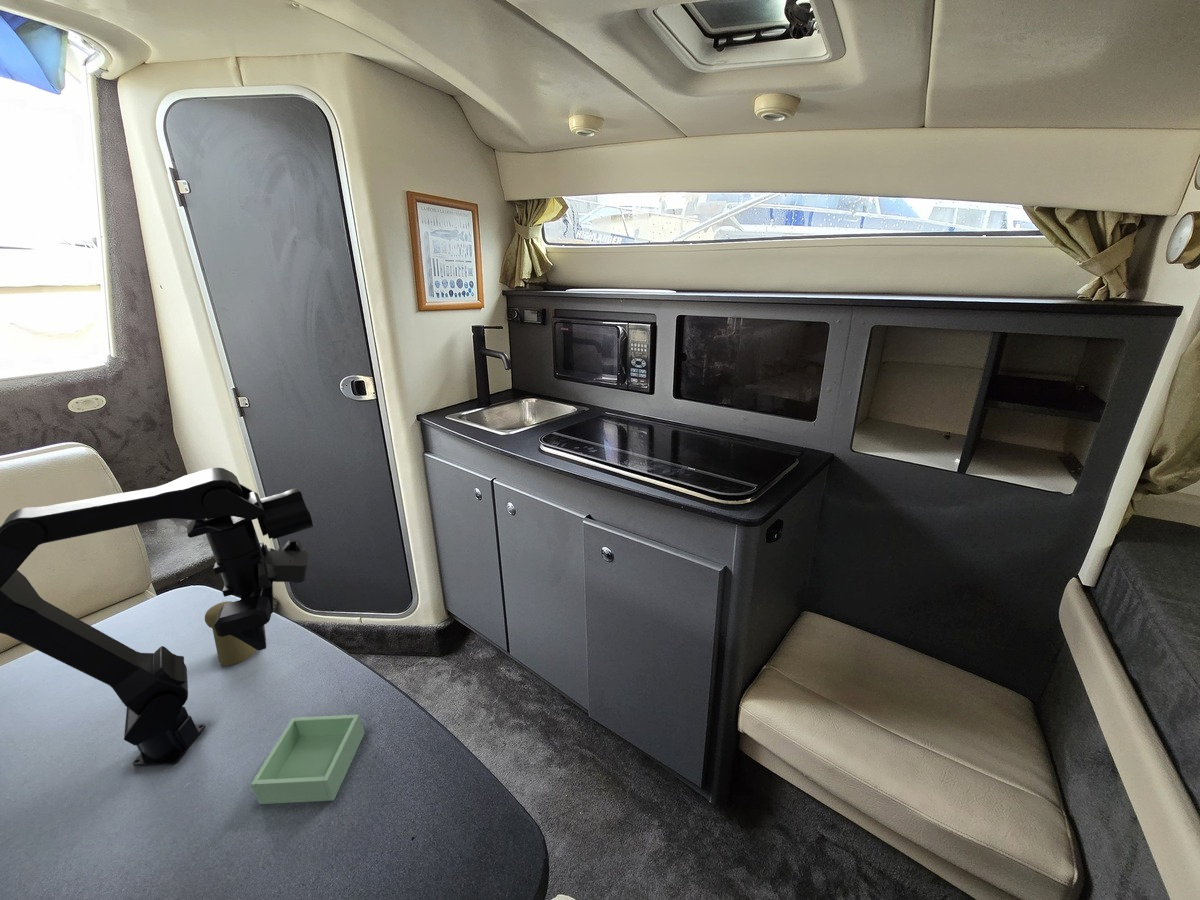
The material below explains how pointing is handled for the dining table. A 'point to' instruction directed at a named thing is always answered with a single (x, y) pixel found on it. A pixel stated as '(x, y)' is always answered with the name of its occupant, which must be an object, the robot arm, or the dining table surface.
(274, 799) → the tray
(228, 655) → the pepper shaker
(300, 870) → the dining table surface
